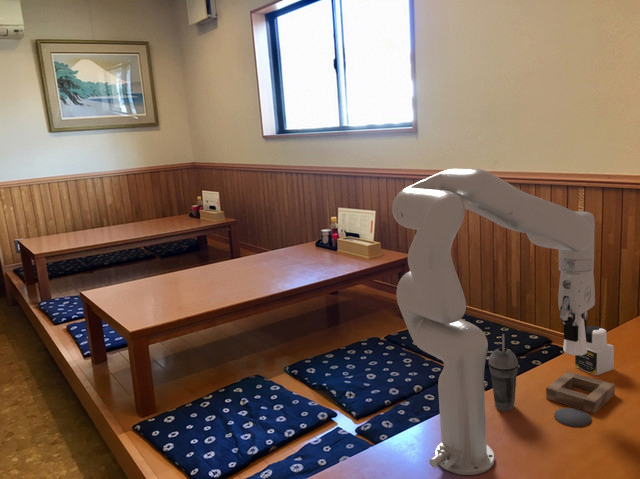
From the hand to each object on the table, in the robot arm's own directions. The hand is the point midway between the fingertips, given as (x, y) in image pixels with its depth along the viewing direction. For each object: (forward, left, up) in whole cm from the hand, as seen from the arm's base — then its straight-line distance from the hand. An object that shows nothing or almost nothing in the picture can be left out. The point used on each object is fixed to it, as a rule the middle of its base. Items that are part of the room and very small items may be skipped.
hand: (575, 336), depth 132 cm
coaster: (-5, -2, -18) cm, 19 cm away
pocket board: (+6, +1, -18) cm, 19 cm away
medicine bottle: (+24, +5, -19) cm, 31 cm away
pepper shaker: (0, 0, -4) cm, 4 cm away
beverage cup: (-10, +13, -19) cm, 25 cm away
